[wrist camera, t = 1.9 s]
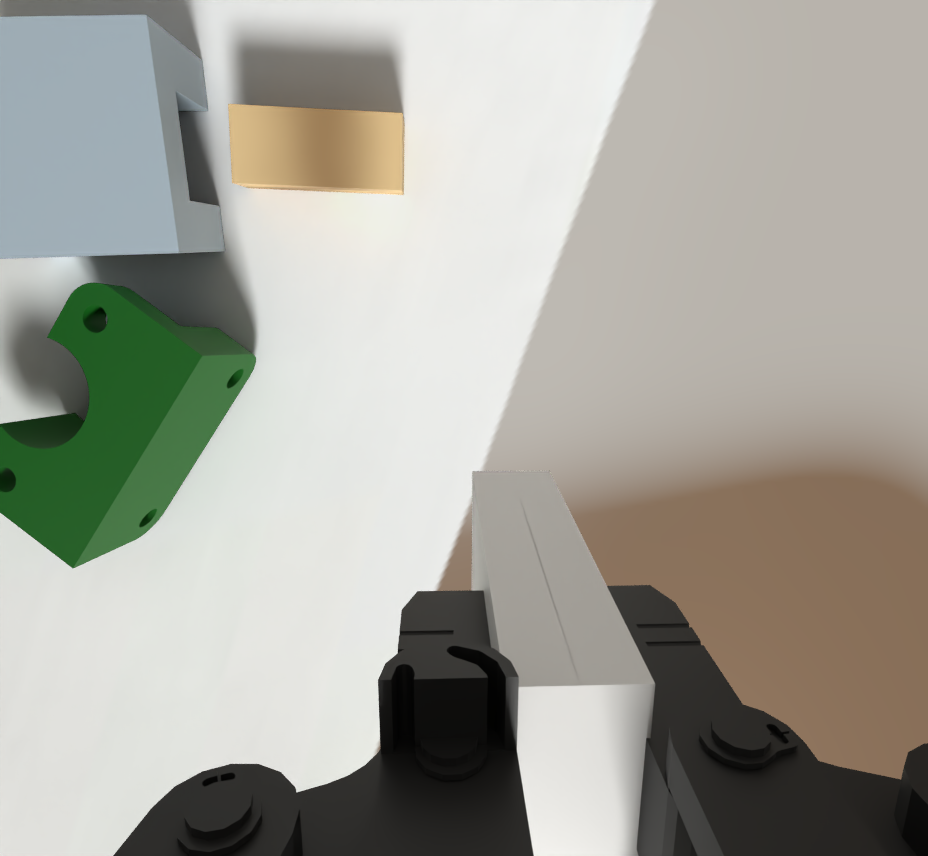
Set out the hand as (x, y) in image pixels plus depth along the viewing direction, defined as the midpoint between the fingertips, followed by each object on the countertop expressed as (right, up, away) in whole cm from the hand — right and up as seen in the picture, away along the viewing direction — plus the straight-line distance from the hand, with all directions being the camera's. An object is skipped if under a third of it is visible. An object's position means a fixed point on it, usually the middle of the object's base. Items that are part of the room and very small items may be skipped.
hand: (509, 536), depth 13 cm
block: (-16, +14, +17) cm, 27 cm away
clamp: (-17, +3, +20) cm, 26 cm away
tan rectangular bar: (-7, +14, +17) cm, 24 cm away
